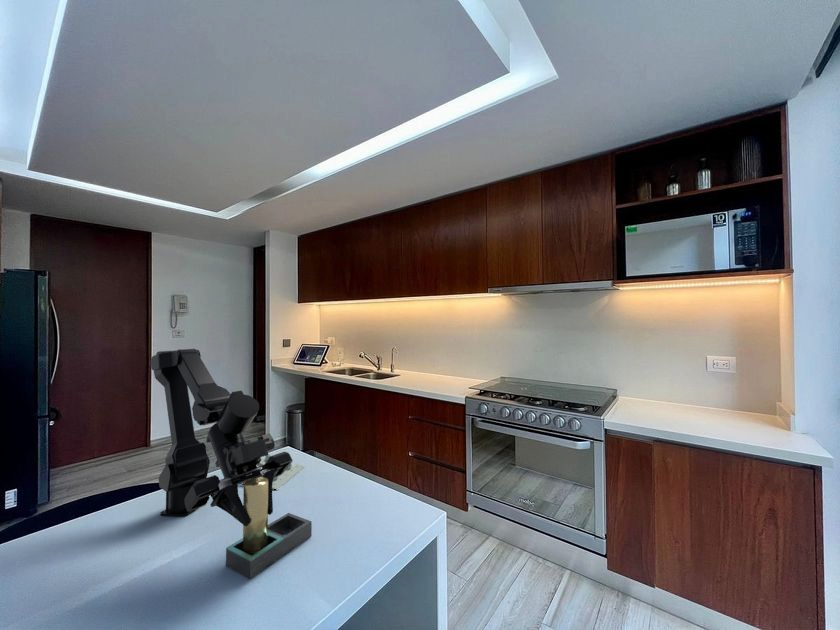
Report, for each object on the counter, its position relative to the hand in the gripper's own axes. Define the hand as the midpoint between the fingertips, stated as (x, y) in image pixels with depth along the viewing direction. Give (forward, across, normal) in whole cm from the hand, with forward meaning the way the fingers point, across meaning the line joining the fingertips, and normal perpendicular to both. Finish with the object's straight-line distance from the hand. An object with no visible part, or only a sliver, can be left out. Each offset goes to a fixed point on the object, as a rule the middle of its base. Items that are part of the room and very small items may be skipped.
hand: (259, 519), depth 64 cm
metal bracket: (-16, +22, +29) cm, 40 cm away
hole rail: (+4, +4, +7) cm, 9 cm away
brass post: (+4, 0, +6) cm, 7 cm away
